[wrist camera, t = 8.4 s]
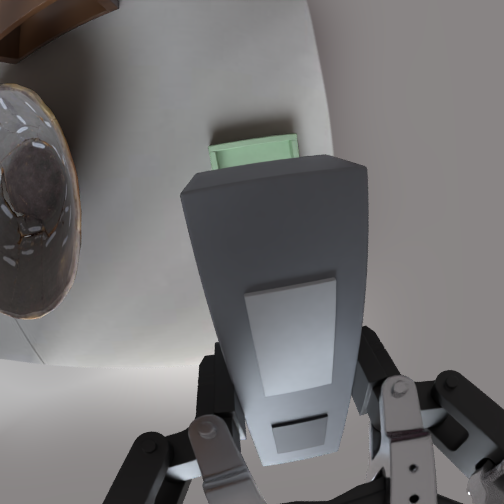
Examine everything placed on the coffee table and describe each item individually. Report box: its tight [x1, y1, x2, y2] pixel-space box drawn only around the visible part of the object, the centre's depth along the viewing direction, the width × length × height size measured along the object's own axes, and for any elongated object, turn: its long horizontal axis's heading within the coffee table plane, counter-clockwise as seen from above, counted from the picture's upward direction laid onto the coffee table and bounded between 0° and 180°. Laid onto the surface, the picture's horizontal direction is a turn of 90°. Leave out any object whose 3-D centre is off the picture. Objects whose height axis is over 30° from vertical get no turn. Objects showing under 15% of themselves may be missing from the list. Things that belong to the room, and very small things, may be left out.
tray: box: [208, 133, 299, 170], centre depth 30 cm, size 19×9×2 cm, turn 9°
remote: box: [180, 154, 368, 466], centre depth 10 cm, size 15×4×3 cm, turn 8°
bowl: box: [0, 83, 81, 319], centre depth 22 cm, size 25×25×10 cm
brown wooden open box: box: [0, 0, 119, 64], centre depth 12 cm, size 16×9×9 cm, turn 99°
